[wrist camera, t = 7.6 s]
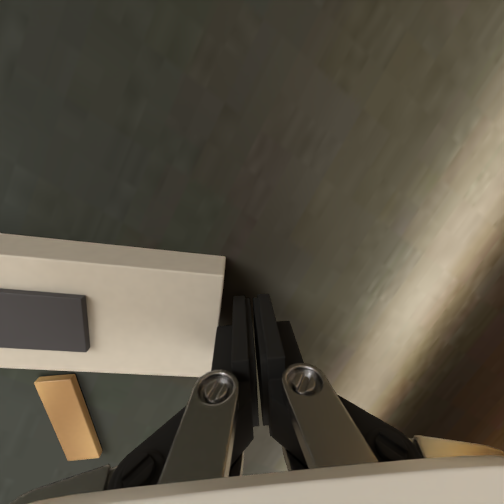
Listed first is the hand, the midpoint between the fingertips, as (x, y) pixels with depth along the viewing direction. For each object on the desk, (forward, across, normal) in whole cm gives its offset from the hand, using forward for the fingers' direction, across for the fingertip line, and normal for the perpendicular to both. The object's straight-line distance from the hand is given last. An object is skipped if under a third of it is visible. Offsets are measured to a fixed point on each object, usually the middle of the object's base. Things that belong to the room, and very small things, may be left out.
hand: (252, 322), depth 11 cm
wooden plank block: (+1, +10, +6) cm, 12 cm away
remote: (+1, +9, -2) cm, 10 cm away
